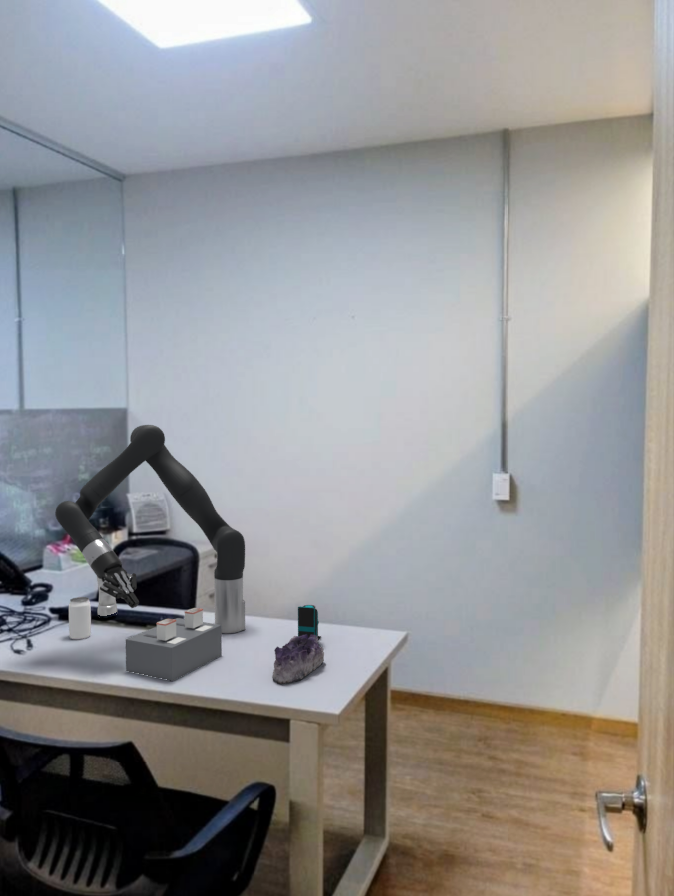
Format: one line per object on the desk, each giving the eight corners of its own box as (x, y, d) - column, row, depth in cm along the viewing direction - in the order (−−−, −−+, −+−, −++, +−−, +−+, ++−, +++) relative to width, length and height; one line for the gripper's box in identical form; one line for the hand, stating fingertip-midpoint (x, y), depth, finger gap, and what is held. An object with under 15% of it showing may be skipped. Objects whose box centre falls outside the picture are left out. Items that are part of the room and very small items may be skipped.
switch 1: (156, 639, 190) (156, 622, 189) (167, 634, 194) (167, 618, 193) (165, 640, 188) (165, 624, 188) (176, 636, 192) (176, 619, 192)
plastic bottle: (121, 615, 244) (120, 559, 243) (109, 621, 238) (108, 563, 237) (105, 614, 246) (104, 557, 245) (93, 619, 240) (92, 561, 239)
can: (83, 640, 218) (83, 602, 217) (65, 639, 219) (64, 601, 218) (95, 634, 224) (94, 597, 223) (76, 632, 225) (76, 596, 225)
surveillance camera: (324, 599, 220) (314, 608, 210) (324, 637, 220) (314, 647, 211) (307, 598, 221) (297, 606, 212) (307, 635, 222) (297, 645, 212)
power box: (126, 671, 191) (125, 638, 191) (178, 647, 211) (177, 617, 211) (172, 681, 184) (171, 647, 184) (221, 655, 204) (221, 624, 204)
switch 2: (184, 627, 200) (184, 611, 200) (194, 622, 204) (194, 607, 204) (193, 628, 199) (193, 612, 199) (203, 624, 203) (203, 608, 203)
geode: (304, 688, 180) (299, 650, 179) (264, 688, 184) (258, 651, 183) (331, 659, 199) (326, 625, 198) (294, 660, 203) (289, 626, 202)
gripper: (91, 554, 193) (126, 603, 188) (125, 546, 205) (159, 591, 200) (77, 571, 195) (111, 620, 191) (111, 562, 207) (144, 608, 202)
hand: (135, 605), depth 195 cm, fingers closed
